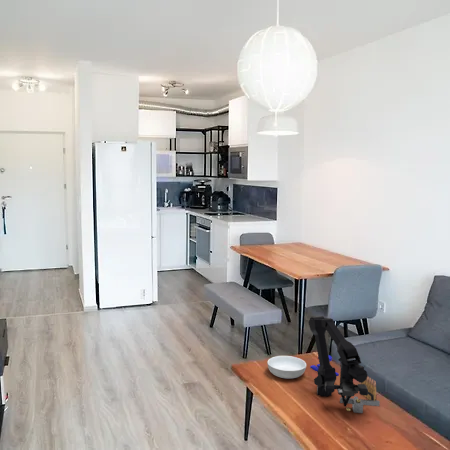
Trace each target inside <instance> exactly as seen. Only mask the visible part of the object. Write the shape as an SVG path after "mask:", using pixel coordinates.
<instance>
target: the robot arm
mask: <svg viewBox="0 0 450 450" xmlns="http://www.w3.org/2000/svg"><path fill="white" fill-rule="evenodd" d="M308 326H309V329H310V331H311V333H312V334H313V335H314V339H315V346H316V349H317V351H316V352H317V356H318V357H317V359H318V358H319V359H318V364H320V366H319V369H318V372H317V376H316V377H315V378H314V379H313V382H314V383H313V384H314V385H316V395H317V396H320V397H321V398H323V397H325V398H327V397H332V396H333V393H334V392H335V390H337V395H340V397H342V399H343V403H342V404H343V406H344V407H347V405H348V404H347V403H348V401H349V399H350V398H354V396H356V395H357V394H359V395H360V396H363V395H366V396H367V395H368V389H367V386H366V385H365V384H361V383H362V382H364V381H365V380H366V379H367V376H368V372H367V371H366V369H365V366H362V365H360V364H362V361H361V357H360V355H359V351H358V349H357V348H356V347H355V346H354V344H353V343H352V342H350V341H348V340H347V339H346V338H345V337H344V335H343V333H342V332H341V331H340V329H339V328H338V326H337V324H336V323H335V321H334V319H333V318H329V317H324V316H323V315H320V316H319V315H317V316H311V317H310V318H309V320H308ZM326 332H327V333H328V335H329V337H330V338H331V339H332V341H333V342H334V344H335V345H336V347H337V348H336V350H337V351H336V352H337V353H338V355H339V358H338V359H337V360H338V361H339V362H340V373H339V384H335V383H336V381H337V377H338V376H337V375H336V368H335V367H333V366H332V365H331V361H329V356H328V355H329V351H328V344H327V339H326V338H327V337H326ZM354 381H357V382H358V383H357V384H354Z"/></svg>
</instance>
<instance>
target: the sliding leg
mask: <svg viewBox="0 0 450 450" xmlns="http://www.w3.org/2000/svg"><path fill="white" fill-rule="evenodd" d="M353 398H354V399H353V404H351V405H352V409H351V410H352V412H353V413H358V414H363V413H364V405H363V401H362V399H363V398H359V397H358V396H356V395H355V396H353Z"/></svg>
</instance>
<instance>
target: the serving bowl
mask: <svg viewBox="0 0 450 450" xmlns="http://www.w3.org/2000/svg"><path fill="white" fill-rule="evenodd" d="M267 369H268V370H269V371H270V373H271V374H272V375H274V376H276V377H278V378H282V379H288V380H289V379H297V378H299V377H301V376H302V375H304V373H305V371H306V369H307V363H306V361H305V360H303V359H302V358H299V357H296V356H291V355H276V356H273V357H270V358H269V359H268V360H267Z"/></svg>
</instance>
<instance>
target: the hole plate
mask: <svg viewBox="0 0 450 450" xmlns="http://www.w3.org/2000/svg"><path fill="white" fill-rule="evenodd" d="M353 399H354V397H351V398H350V399H349V401H348V403H347V405H349V404H350V405H353ZM361 399H362V401H363V406H373V407H380V406H381V405H380V403H381V401H380V400H377V399H376V400H369V399H367V398H365V399H364V398H361ZM339 403H340V404H344V403H343V399H342V397H341V396H340V397H339ZM345 409H346V411H347V412H350V411H352V409H351V407H349V406H348V407H347V406H346V408H345Z"/></svg>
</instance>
